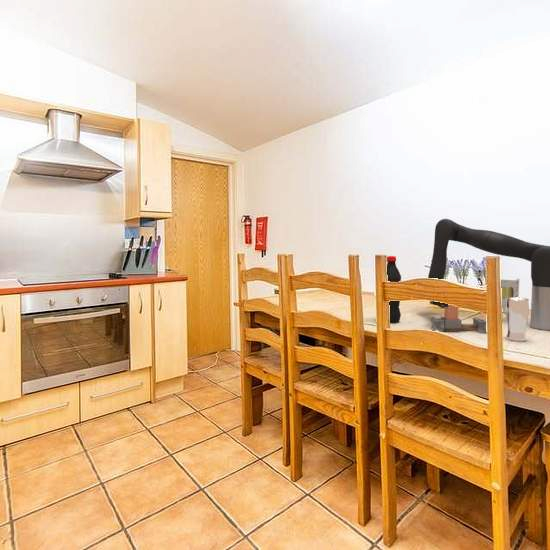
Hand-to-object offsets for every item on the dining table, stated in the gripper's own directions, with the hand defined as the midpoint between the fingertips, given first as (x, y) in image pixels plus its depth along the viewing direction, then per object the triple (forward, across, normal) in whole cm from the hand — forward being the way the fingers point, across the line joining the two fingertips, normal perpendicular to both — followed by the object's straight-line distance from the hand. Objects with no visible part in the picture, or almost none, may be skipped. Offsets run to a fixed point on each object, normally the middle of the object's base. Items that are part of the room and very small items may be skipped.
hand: (453, 304), depth 142 cm
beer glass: (+8, +19, +11) cm, 24 cm away
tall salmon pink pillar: (-3, 0, +10) cm, 10 cm away
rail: (-3, +3, +11) cm, 12 cm away
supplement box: (-44, +38, +11) cm, 59 cm away
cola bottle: (-17, -22, +11) cm, 30 cm away
